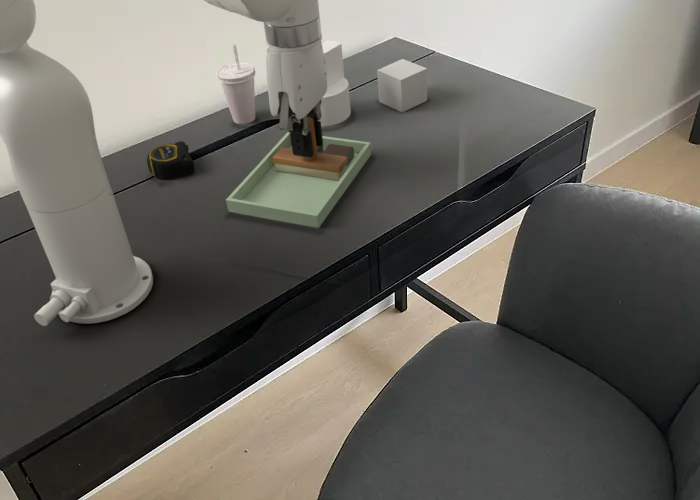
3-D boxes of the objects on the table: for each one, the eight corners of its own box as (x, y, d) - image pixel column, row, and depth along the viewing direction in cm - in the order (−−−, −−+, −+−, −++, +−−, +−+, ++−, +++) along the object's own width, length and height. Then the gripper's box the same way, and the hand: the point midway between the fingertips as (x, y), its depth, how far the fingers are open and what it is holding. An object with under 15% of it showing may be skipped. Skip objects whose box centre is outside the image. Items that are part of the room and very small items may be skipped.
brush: (340, 181, 110) (335, 131, 105) (274, 171, 114) (266, 121, 109) (348, 170, 112) (344, 120, 107) (283, 160, 116) (276, 111, 111)
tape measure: (197, 178, 116) (192, 157, 113) (153, 188, 114) (147, 167, 112) (191, 157, 121) (186, 137, 119) (148, 167, 120) (143, 146, 117)
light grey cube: (378, 101, 131) (376, 69, 128) (403, 90, 134) (402, 58, 131) (402, 112, 128) (400, 80, 124) (427, 100, 130) (426, 68, 127)
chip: (344, 170, 113) (343, 160, 112) (320, 166, 114) (319, 156, 113) (354, 156, 116) (353, 146, 115) (330, 153, 117) (329, 143, 116)
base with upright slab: (328, 135, 123) (321, 67, 116) (288, 122, 128) (278, 56, 121) (361, 113, 128) (356, 46, 121) (321, 101, 133) (314, 36, 126)
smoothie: (255, 132, 126) (242, 54, 117) (220, 130, 127) (204, 52, 119) (268, 114, 131) (256, 37, 122) (234, 112, 132) (220, 36, 124)
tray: (319, 232, 102) (317, 215, 100) (229, 215, 107) (225, 199, 105) (371, 158, 116) (370, 142, 115) (290, 146, 121) (288, 131, 120)
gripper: (293, 6, 107) (308, 121, 118) (239, 52, 95) (260, 174, 107) (342, 10, 104) (352, 127, 115) (291, 57, 93) (308, 182, 104)
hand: (308, 149), depth 111 cm, fingers closed on brush, 2 cm apart
